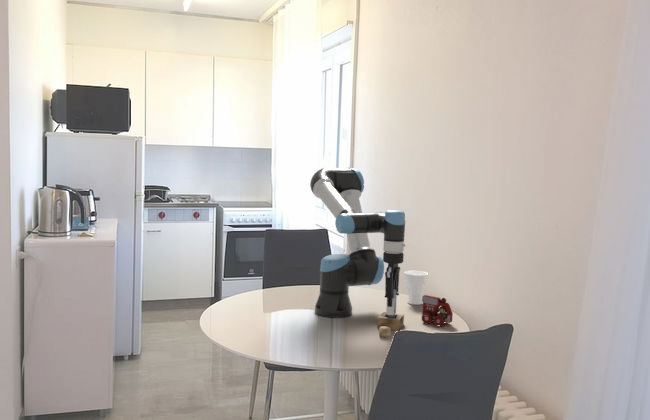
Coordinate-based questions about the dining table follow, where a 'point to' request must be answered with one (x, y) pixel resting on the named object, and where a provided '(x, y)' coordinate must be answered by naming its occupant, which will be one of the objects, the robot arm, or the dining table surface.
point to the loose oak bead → (384, 332)
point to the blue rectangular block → (394, 305)
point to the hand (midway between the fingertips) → (391, 313)
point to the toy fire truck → (436, 310)
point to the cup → (415, 285)
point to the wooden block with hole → (391, 321)
